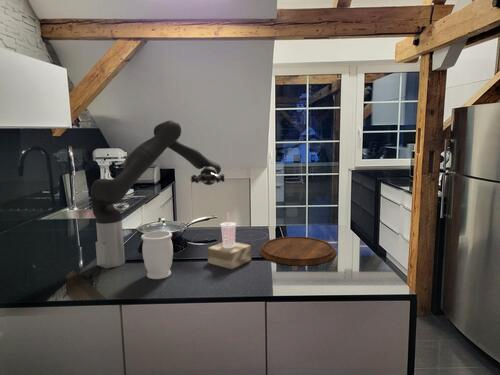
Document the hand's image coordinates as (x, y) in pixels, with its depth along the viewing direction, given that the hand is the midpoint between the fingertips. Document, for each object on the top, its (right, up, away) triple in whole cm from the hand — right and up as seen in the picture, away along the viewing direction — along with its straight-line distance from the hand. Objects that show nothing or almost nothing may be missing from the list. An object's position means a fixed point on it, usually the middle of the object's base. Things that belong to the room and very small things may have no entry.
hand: (207, 180), depth 156 cm
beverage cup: (+10, -26, -11) cm, 30 cm away
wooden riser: (+10, -32, -10) cm, 35 cm away
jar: (-15, -35, -23) cm, 44 cm away
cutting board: (+38, -30, 0) cm, 49 cm away
